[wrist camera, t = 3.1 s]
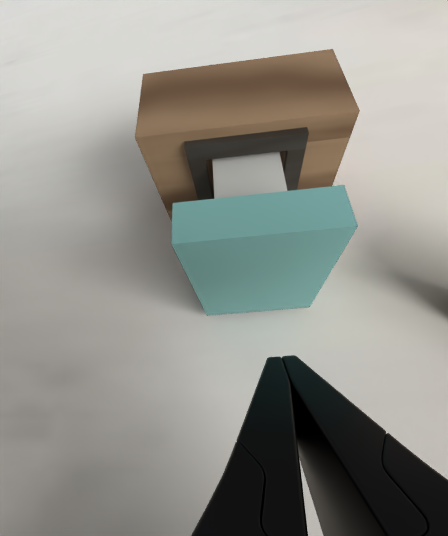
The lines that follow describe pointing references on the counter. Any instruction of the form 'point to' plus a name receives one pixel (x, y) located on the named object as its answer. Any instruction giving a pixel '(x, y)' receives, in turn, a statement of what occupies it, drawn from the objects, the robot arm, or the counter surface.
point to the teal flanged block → (260, 237)
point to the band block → (245, 121)
